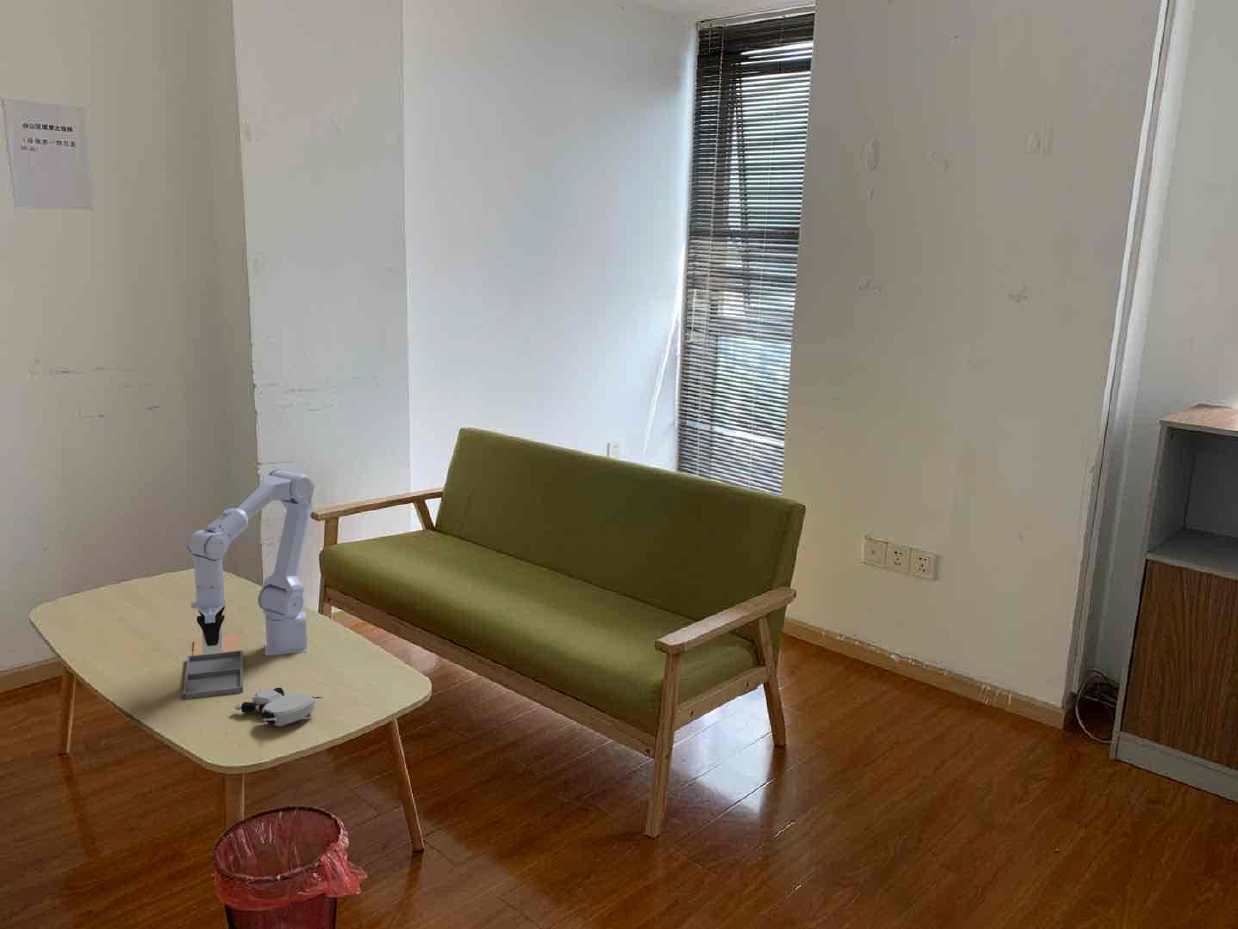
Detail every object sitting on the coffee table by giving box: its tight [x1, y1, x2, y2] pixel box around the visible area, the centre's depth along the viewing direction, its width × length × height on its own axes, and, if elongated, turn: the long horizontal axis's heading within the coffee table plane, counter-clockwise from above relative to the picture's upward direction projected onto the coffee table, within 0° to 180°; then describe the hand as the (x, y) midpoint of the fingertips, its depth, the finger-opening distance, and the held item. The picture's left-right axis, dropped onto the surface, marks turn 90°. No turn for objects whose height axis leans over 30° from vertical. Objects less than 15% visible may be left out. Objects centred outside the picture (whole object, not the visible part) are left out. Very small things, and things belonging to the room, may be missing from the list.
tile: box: [192, 633, 240, 655], centre depth 230 cm, size 10×10×1 cm
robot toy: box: [234, 687, 324, 727], centre depth 200 cm, size 12×4×15 cm
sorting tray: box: [182, 650, 244, 700], centre depth 215 cm, size 12×20×2 cm, turn 21°
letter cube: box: [201, 627, 223, 654], centre depth 212 cm, size 4×4×4 cm
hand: (212, 640), depth 212 cm, fingers closed on letter cube, 4 cm apart
